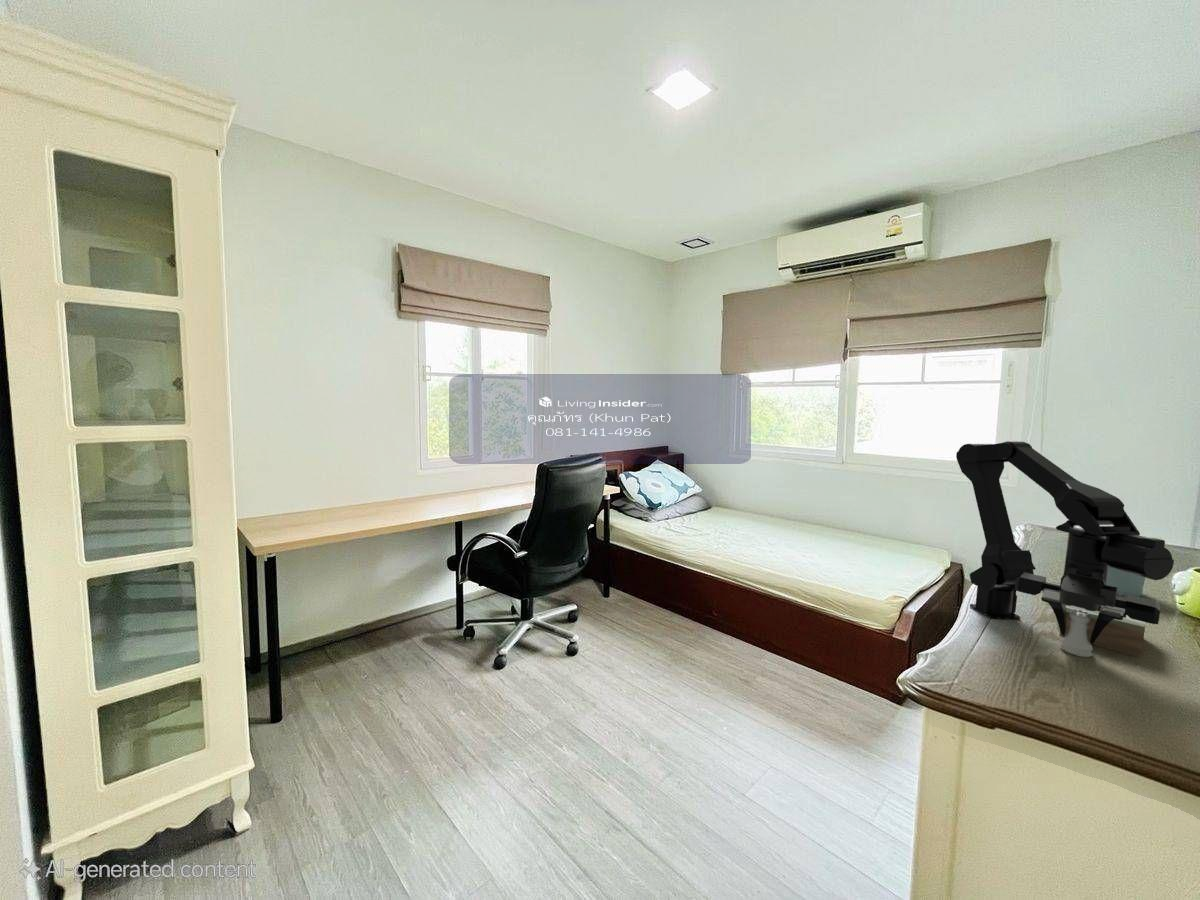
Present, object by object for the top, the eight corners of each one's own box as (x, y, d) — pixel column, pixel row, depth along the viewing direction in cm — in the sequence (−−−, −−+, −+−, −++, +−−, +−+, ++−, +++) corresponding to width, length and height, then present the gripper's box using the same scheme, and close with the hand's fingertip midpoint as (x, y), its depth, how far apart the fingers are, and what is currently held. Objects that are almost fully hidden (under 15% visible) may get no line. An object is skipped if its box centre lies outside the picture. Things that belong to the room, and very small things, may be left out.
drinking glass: (1154, 594, 118) (1160, 548, 116) (1134, 600, 114) (1140, 552, 113) (1099, 580, 127) (1104, 537, 126) (1079, 585, 123) (1084, 541, 122)
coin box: (1140, 657, 87) (1145, 627, 87) (1059, 634, 96) (1062, 606, 95) (1142, 637, 95) (1146, 609, 94) (1067, 618, 103) (1070, 592, 103)
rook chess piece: (1099, 659, 87) (1104, 618, 86) (1071, 656, 87) (1076, 616, 87) (1080, 647, 91) (1085, 608, 90) (1053, 644, 92) (1058, 605, 91)
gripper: (1013, 555, 89) (1004, 632, 91) (1165, 585, 75) (1152, 676, 77) (1024, 544, 96) (1016, 616, 98) (1164, 570, 82) (1153, 654, 84)
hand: (1077, 638), depth 89 cm, fingers closed on rook chess piece, 3 cm apart
